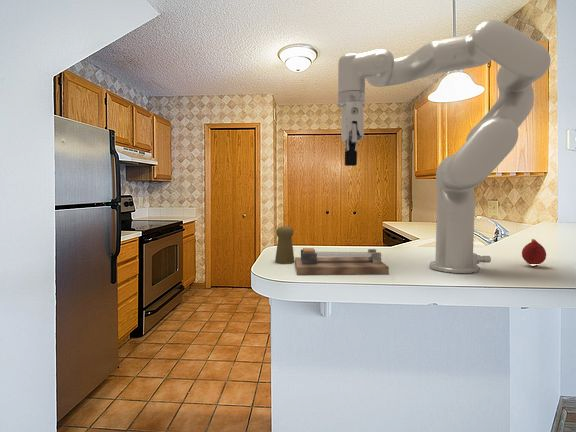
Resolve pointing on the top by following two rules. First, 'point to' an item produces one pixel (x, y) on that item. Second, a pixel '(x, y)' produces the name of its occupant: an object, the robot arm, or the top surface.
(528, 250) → the onion
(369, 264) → the board
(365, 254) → the hinged lever bar
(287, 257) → the pepper mill
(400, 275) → the top surface
